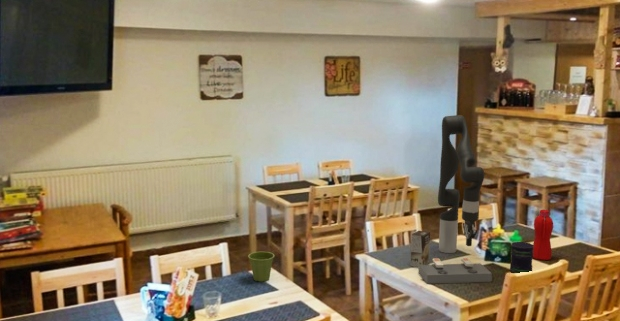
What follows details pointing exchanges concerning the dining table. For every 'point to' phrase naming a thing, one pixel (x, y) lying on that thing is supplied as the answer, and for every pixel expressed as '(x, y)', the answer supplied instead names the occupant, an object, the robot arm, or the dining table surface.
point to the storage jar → (521, 257)
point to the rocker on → (466, 262)
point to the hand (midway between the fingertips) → (468, 245)
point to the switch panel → (454, 273)
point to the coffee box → (420, 248)
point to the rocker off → (437, 262)
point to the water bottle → (542, 236)
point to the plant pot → (261, 265)
